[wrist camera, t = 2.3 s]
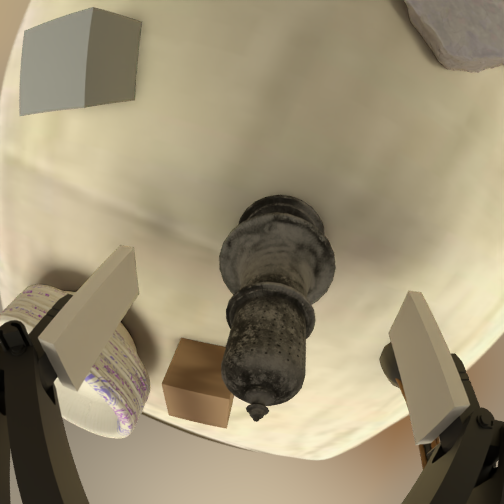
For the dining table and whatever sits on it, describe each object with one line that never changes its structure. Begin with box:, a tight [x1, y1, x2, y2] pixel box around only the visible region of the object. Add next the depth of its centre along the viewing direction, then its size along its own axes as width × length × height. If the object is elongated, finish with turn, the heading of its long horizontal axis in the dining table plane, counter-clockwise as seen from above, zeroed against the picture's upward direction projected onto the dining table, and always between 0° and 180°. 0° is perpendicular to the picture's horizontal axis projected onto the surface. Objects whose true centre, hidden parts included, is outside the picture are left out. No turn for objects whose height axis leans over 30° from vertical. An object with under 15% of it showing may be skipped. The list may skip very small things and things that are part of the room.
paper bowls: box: [0, 284, 150, 438], centre depth 22 cm, size 15×15×8 cm
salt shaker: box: [219, 195, 336, 422], centre depth 13 cm, size 6×6×12 cm
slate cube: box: [20, 7, 142, 116], centre depth 12 cm, size 5×5×5 cm
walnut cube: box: [162, 338, 234, 428], centre depth 23 cm, size 5×5×5 cm
